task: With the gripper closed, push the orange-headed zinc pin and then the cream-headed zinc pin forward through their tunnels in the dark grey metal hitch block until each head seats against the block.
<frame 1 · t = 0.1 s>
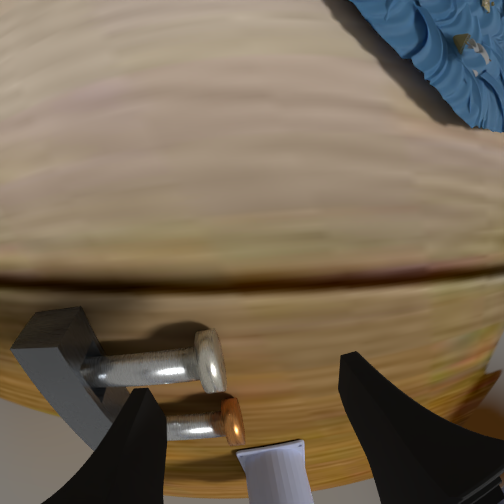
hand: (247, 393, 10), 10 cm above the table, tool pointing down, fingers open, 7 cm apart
pin 1: (131, 370, 19), point 2 cm above the table, slide at 0.0 cm
pin 2: (167, 428, 22), point 2 cm above the table, slide at 0.0 cm
hitch block: (100, 384, 22), on the table
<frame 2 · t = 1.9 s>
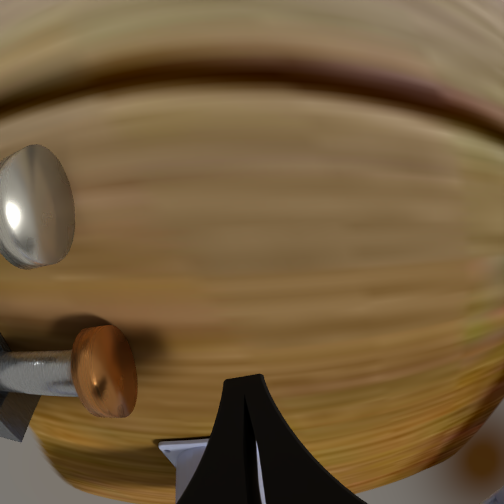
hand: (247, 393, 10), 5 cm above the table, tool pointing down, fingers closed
pin 2: (23, 372, 12), point 2 cm above the table, slide at 0.0 cm
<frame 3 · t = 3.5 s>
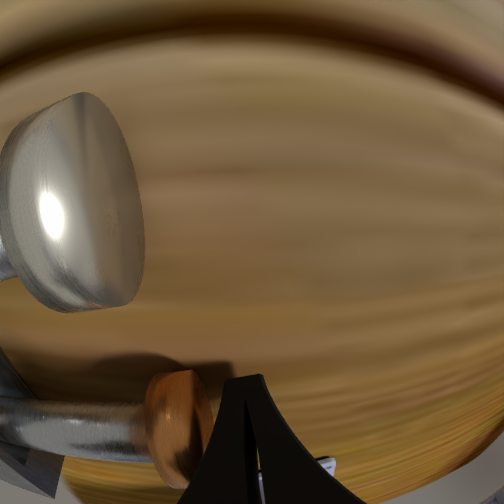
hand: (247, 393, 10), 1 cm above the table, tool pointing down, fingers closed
pin 2: (54, 427, 8), point 2 cm above the table, slide at 0.0 cm, touching gripper
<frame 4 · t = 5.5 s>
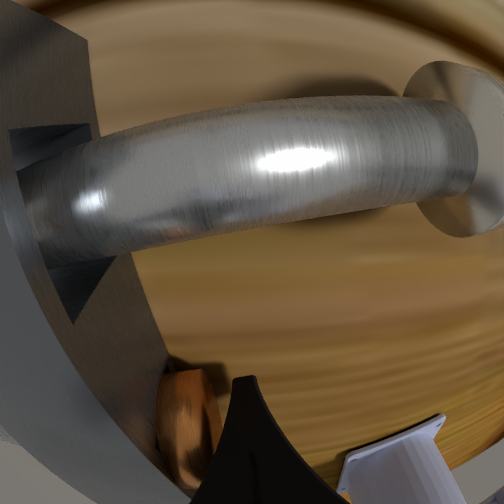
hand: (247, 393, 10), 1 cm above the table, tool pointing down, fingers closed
pin 1: (217, 171, 5), point 2 cm above the table, slide at 0.0 cm
pin 2: (60, 428, 8), point 2 cm above the table, slide at 8.5 cm, touching gripper, hitch block
hitch block: (85, 312, 9), on the table
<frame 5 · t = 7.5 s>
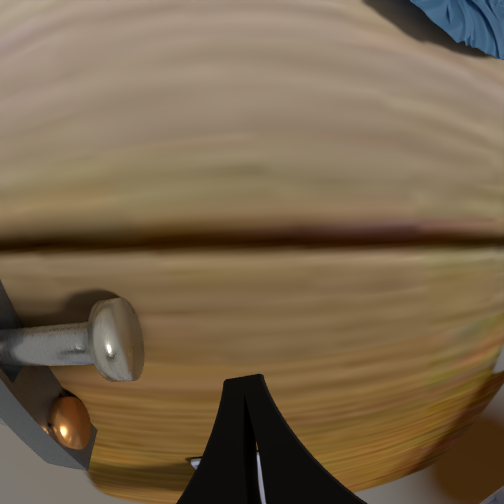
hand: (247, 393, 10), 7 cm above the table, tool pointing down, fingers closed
pin 1: (38, 346, 14), point 2 cm above the table, slide at 0.0 cm
pin 2: (23, 416, 17), point 2 cm above the table, slide at 8.5 cm, touching hitch block
hitch block: (28, 367, 17), on the table
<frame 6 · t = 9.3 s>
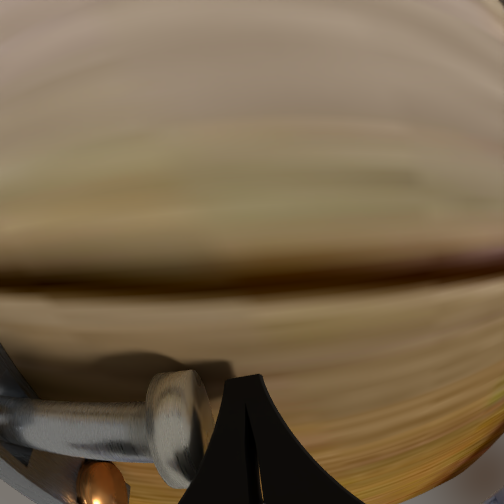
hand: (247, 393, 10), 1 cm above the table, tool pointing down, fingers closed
pin 1: (55, 427, 8), point 2 cm above the table, slide at 0.2 cm, touching gripper
pin 2: (38, 477, 11), point 2 cm above the table, slide at 8.5 cm, touching hitch block
hitch block: (40, 427, 12), on the table
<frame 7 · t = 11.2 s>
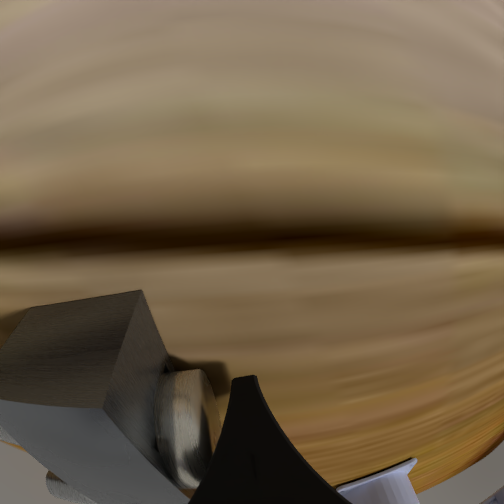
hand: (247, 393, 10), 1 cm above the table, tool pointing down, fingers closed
pin 1: (59, 428, 8), point 2 cm above the table, slide at 8.5 cm, touching gripper, hitch block
pin 2: (138, 496, 12), point 2 cm above the table, slide at 8.5 cm, touching hitch block
hitch block: (159, 435, 12), on the table
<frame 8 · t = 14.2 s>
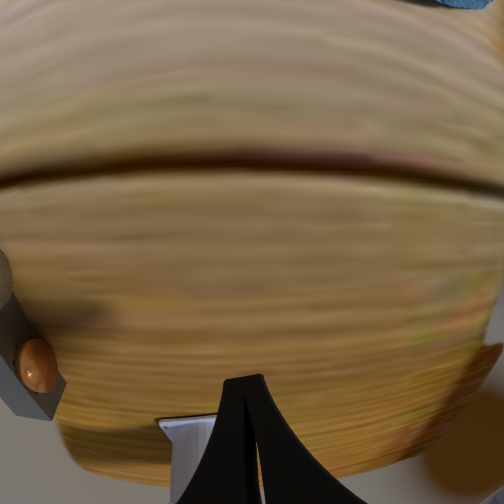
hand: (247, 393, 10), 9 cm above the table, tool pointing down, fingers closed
hitch block: (3, 311, 18), on the table
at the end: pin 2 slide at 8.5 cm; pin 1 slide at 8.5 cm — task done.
